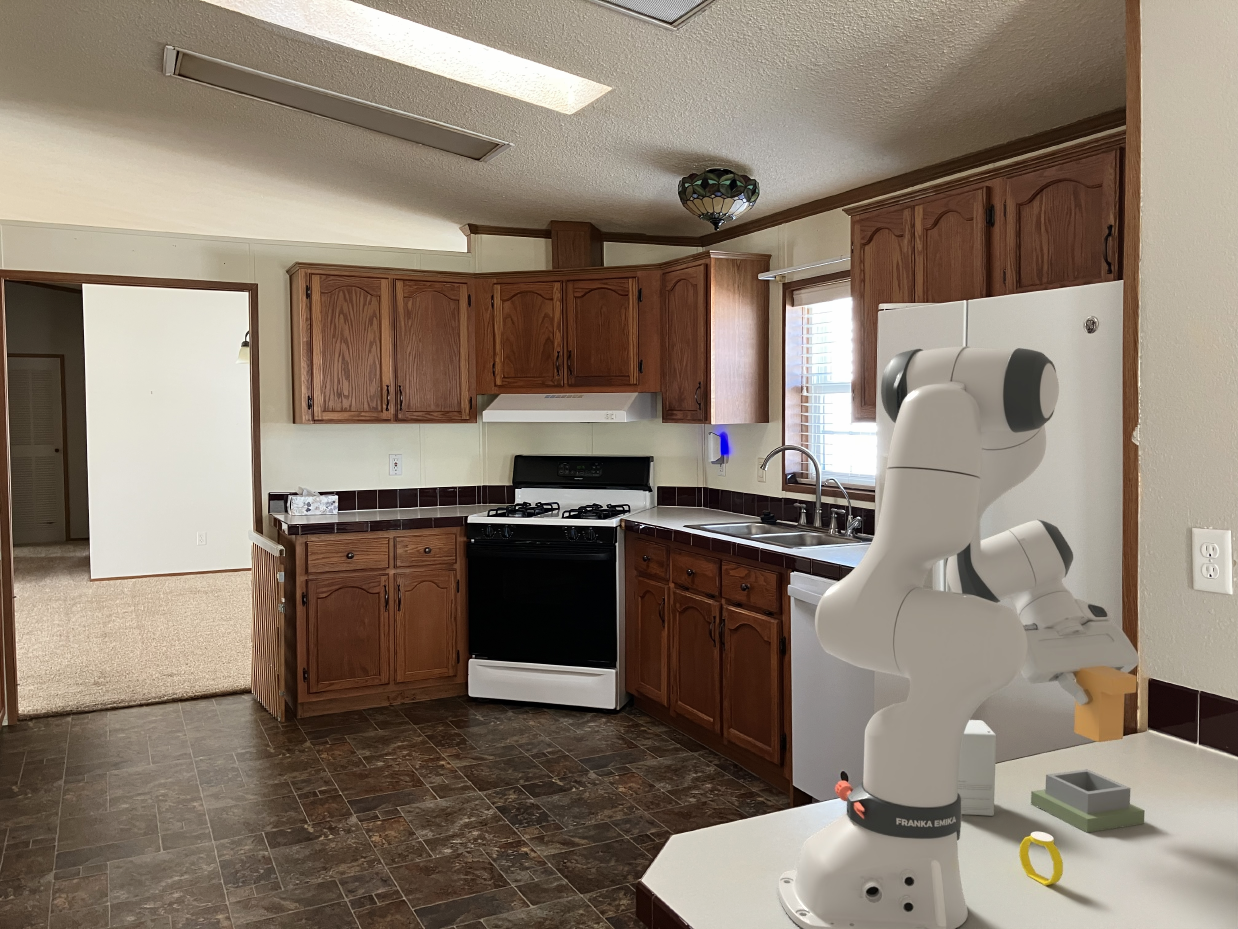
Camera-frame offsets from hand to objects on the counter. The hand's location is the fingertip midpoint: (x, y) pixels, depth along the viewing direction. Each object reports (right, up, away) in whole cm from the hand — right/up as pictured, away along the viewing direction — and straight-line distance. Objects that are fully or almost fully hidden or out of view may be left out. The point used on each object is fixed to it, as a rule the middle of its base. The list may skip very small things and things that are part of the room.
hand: (1102, 701), depth 143 cm
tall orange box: (0, -5, +1) cm, 5 cm away
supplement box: (-19, -18, +6) cm, 27 cm away
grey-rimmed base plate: (-1, -18, +4) cm, 19 cm away
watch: (-17, -19, -18) cm, 31 cm away
